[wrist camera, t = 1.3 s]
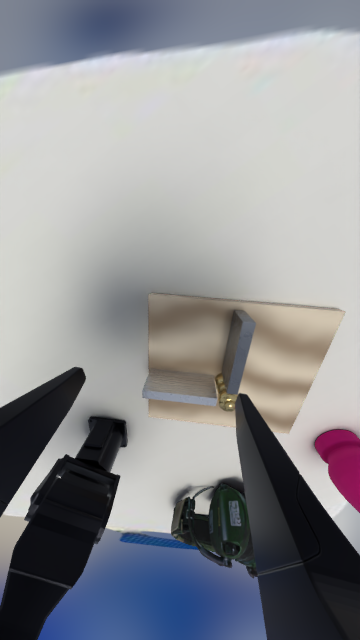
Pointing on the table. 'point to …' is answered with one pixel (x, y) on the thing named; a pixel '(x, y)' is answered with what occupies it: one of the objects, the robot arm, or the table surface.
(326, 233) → the table surface
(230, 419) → the board
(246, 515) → the headphones
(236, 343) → the swing leaf
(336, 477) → the pepper mill
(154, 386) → the fixed leaf
